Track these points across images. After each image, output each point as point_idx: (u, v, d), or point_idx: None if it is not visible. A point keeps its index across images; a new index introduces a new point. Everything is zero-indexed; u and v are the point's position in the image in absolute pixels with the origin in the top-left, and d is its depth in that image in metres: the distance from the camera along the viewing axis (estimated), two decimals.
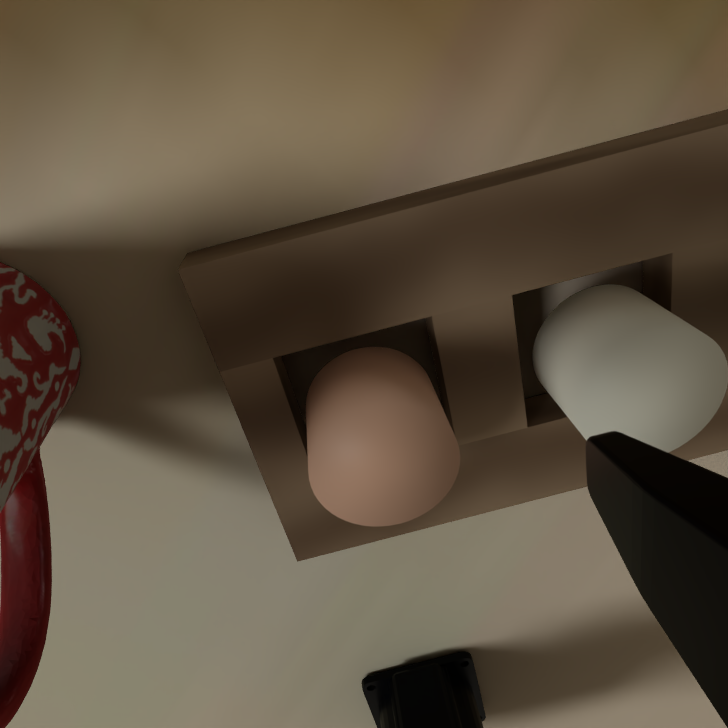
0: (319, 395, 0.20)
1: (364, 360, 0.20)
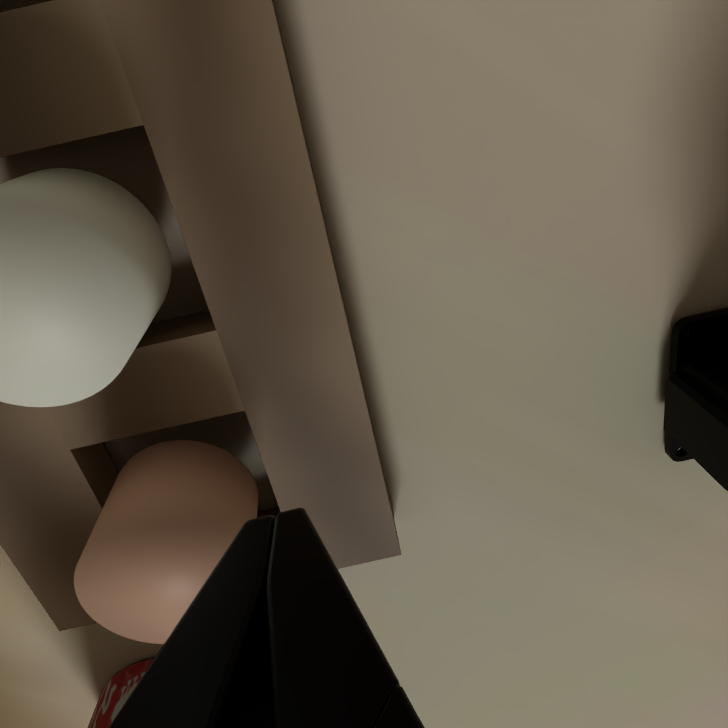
0: None
1: None
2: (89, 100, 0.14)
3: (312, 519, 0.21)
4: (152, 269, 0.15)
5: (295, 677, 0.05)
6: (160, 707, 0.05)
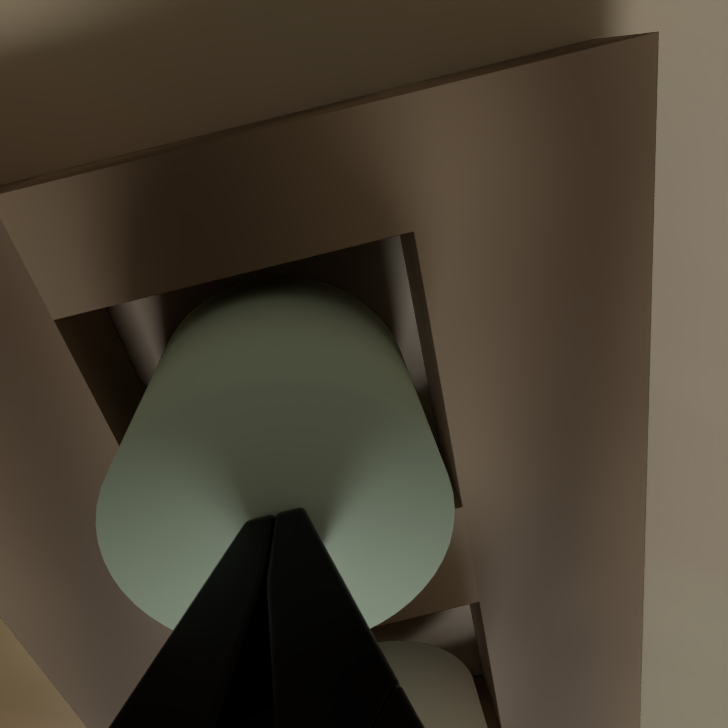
0: None
1: None
2: (428, 589, 0.13)
3: None
4: None
5: (295, 677, 0.05)
6: (160, 707, 0.05)
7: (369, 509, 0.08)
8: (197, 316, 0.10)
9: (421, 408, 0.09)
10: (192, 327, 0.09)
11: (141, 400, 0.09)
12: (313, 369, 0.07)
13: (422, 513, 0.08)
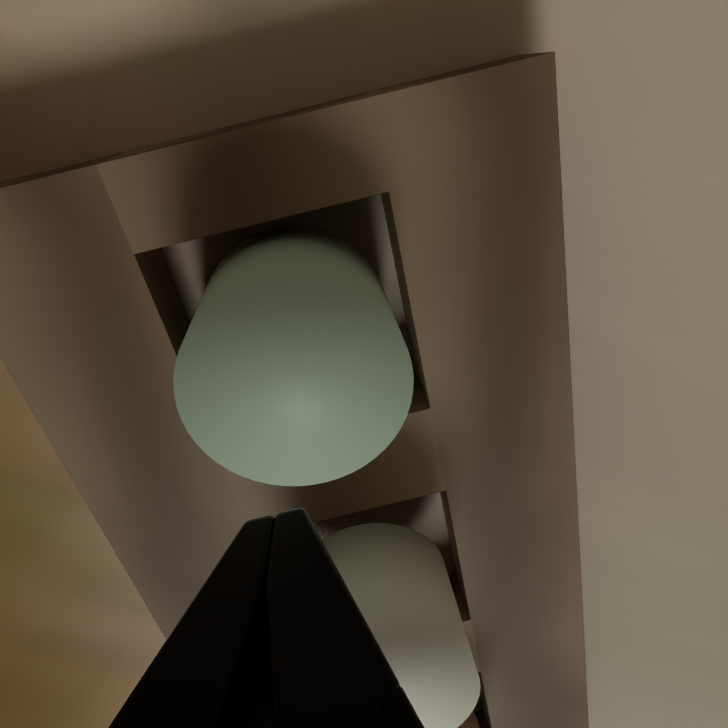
0: None
1: None
2: (406, 478, 0.17)
3: None
4: None
5: (295, 677, 0.05)
6: (160, 707, 0.05)
7: (355, 374, 0.12)
8: (234, 253, 0.14)
9: (393, 314, 0.13)
10: (231, 259, 0.13)
11: (198, 305, 0.12)
12: (317, 274, 0.11)
13: (391, 378, 0.12)
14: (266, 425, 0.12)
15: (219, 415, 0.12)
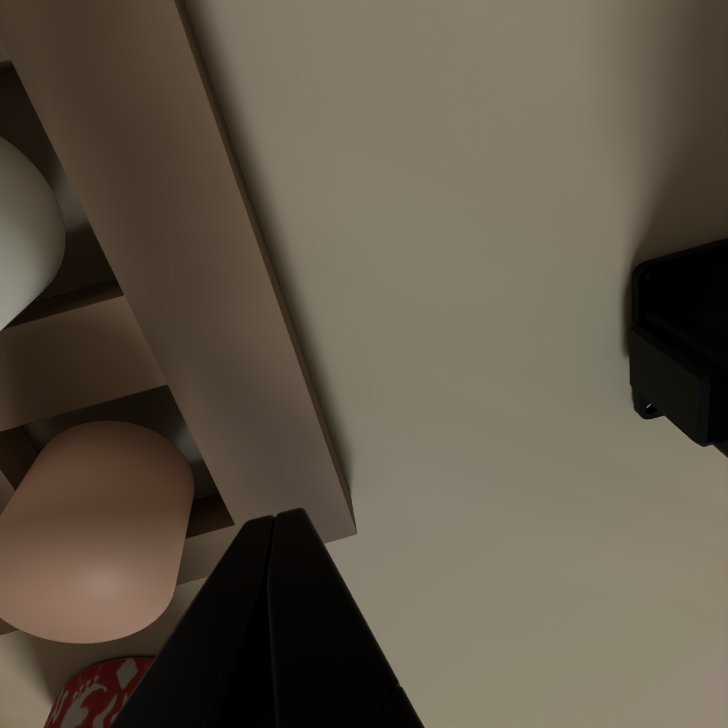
0: None
1: None
2: None
3: (256, 501, 0.20)
4: (28, 221, 0.13)
5: (295, 677, 0.05)
6: (160, 707, 0.05)
7: None
8: None
9: None
10: None
11: None
12: None
13: None
14: None
15: None
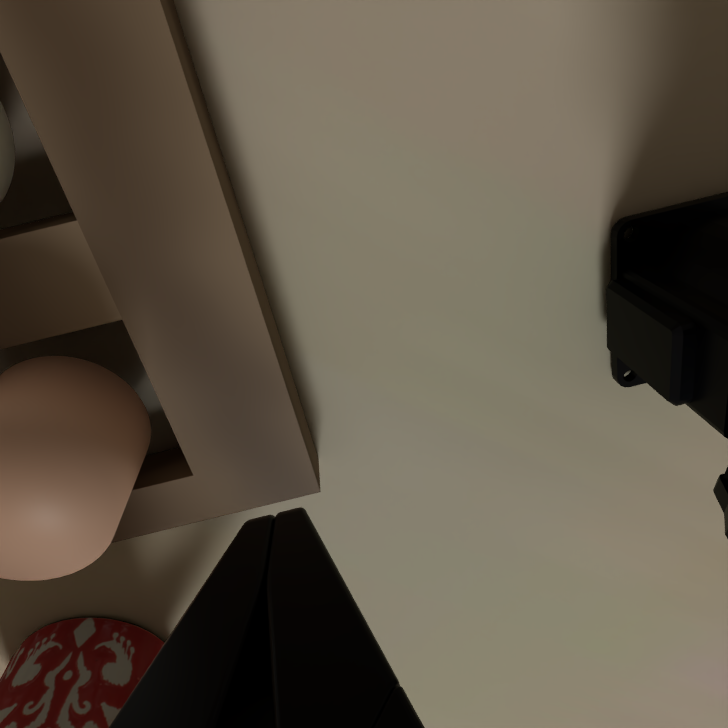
0: None
1: None
2: None
3: (215, 450, 0.19)
4: None
5: (295, 677, 0.05)
6: (160, 707, 0.05)
7: None
8: None
9: None
10: None
11: None
12: None
13: None
14: None
15: None
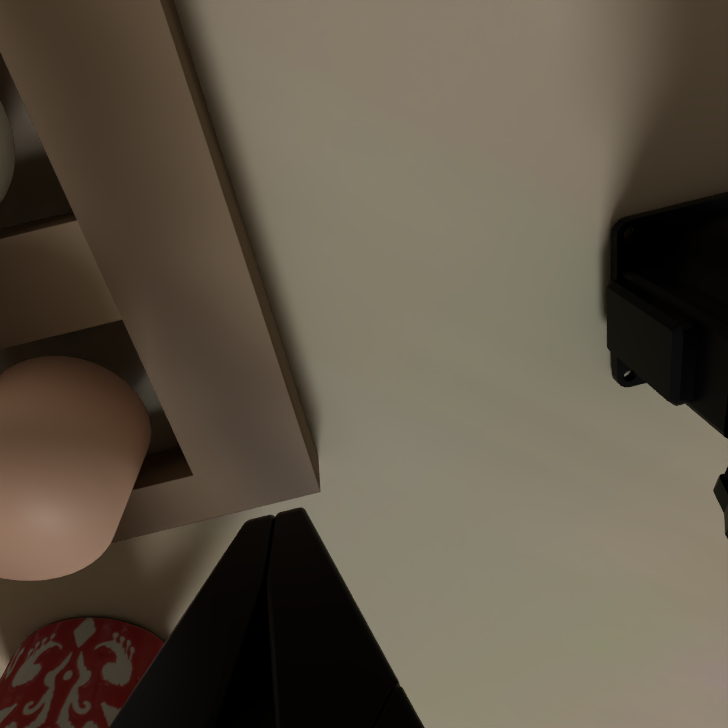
0: None
1: None
2: None
3: (215, 450, 0.19)
4: None
5: (295, 677, 0.05)
6: (160, 707, 0.05)
7: None
8: None
9: None
10: None
11: None
12: None
13: None
14: None
15: None
